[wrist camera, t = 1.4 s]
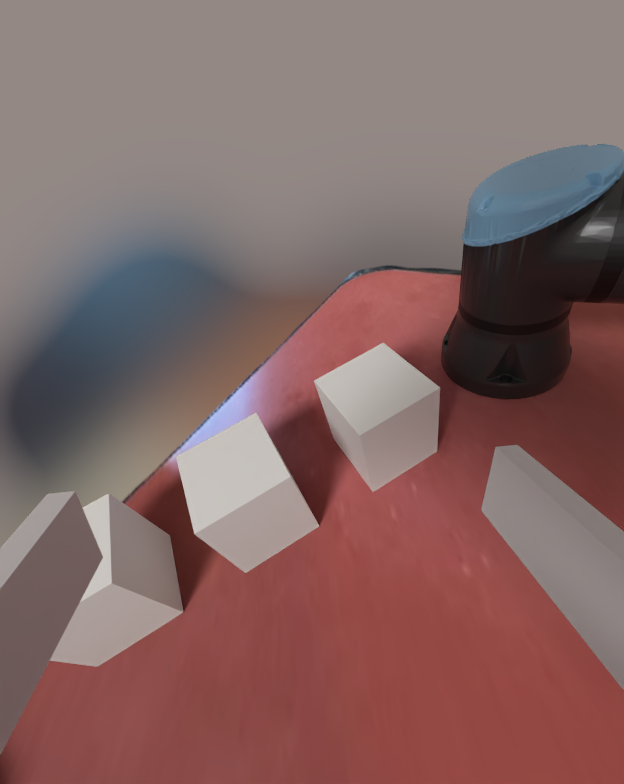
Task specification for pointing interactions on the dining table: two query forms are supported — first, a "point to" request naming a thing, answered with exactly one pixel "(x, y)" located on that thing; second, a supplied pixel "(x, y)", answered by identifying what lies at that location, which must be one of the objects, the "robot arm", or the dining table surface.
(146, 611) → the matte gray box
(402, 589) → the dining table surface
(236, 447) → the tall off-white cuboid
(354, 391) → the matte white cube
